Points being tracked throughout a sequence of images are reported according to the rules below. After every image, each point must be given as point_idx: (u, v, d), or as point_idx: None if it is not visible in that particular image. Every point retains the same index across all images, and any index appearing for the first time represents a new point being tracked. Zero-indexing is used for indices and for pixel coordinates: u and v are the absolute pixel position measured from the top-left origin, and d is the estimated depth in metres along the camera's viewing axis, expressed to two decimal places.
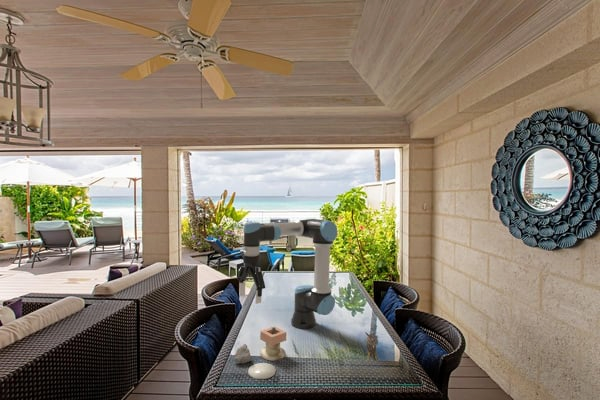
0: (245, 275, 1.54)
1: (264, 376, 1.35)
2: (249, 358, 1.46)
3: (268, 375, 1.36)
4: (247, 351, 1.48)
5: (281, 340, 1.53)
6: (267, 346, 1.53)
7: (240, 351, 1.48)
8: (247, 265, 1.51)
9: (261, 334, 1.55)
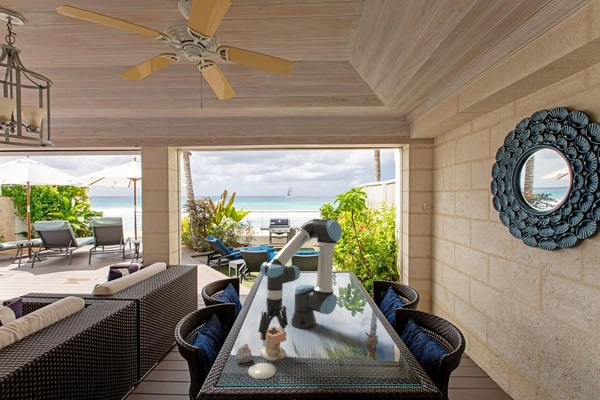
0: (278, 318, 1.58)
1: (264, 376, 1.35)
2: (250, 357, 1.47)
3: (268, 375, 1.36)
4: (248, 351, 1.49)
5: (281, 340, 1.53)
6: (267, 346, 1.53)
7: (241, 351, 1.49)
8: None
9: (261, 334, 1.55)
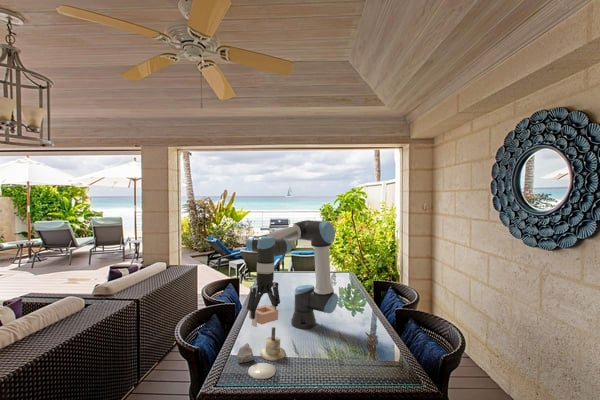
0: (269, 295, 1.42)
1: (264, 376, 1.35)
2: (252, 357, 1.48)
3: (268, 375, 1.36)
4: (250, 350, 1.49)
5: (272, 319, 1.38)
6: (267, 346, 1.53)
7: (243, 350, 1.49)
8: None
9: (250, 312, 1.40)
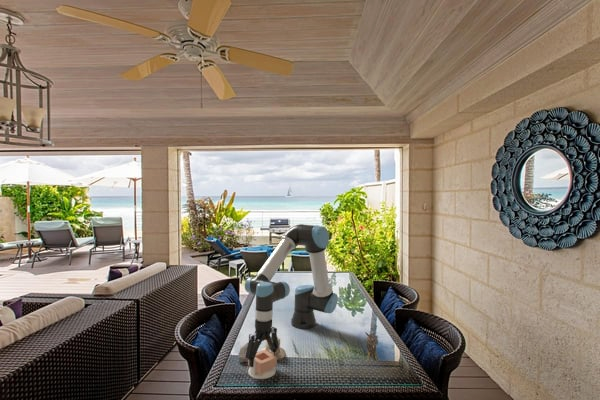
0: (267, 341, 1.42)
1: (264, 376, 1.35)
2: None
3: (268, 375, 1.36)
4: None
5: (271, 366, 1.38)
6: (267, 346, 1.53)
7: (244, 350, 1.50)
8: None
9: None
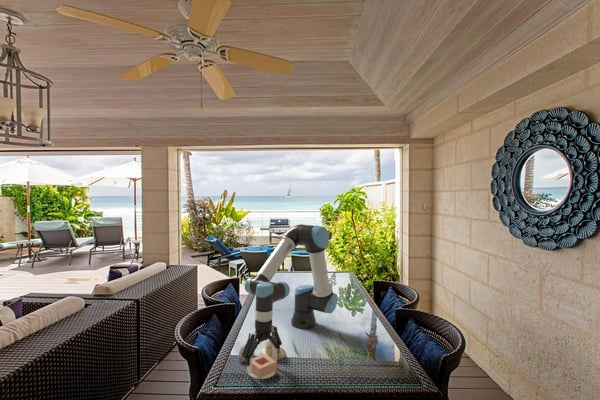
0: (269, 340, 1.43)
1: (264, 376, 1.35)
2: (253, 356, 1.48)
3: (268, 375, 1.36)
4: None
5: (270, 371, 1.38)
6: (267, 346, 1.53)
7: None
8: None
9: None
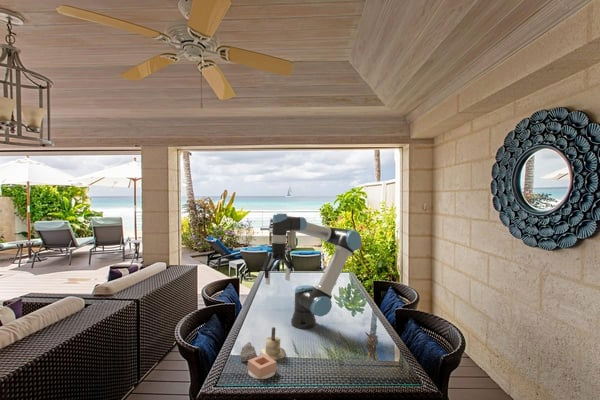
0: (283, 261, 1.72)
1: (264, 376, 1.35)
2: (255, 355, 1.49)
3: (268, 375, 1.36)
4: (252, 349, 1.51)
5: (270, 371, 1.38)
6: (267, 346, 1.53)
7: (245, 349, 1.50)
8: None
9: (248, 364, 1.40)
